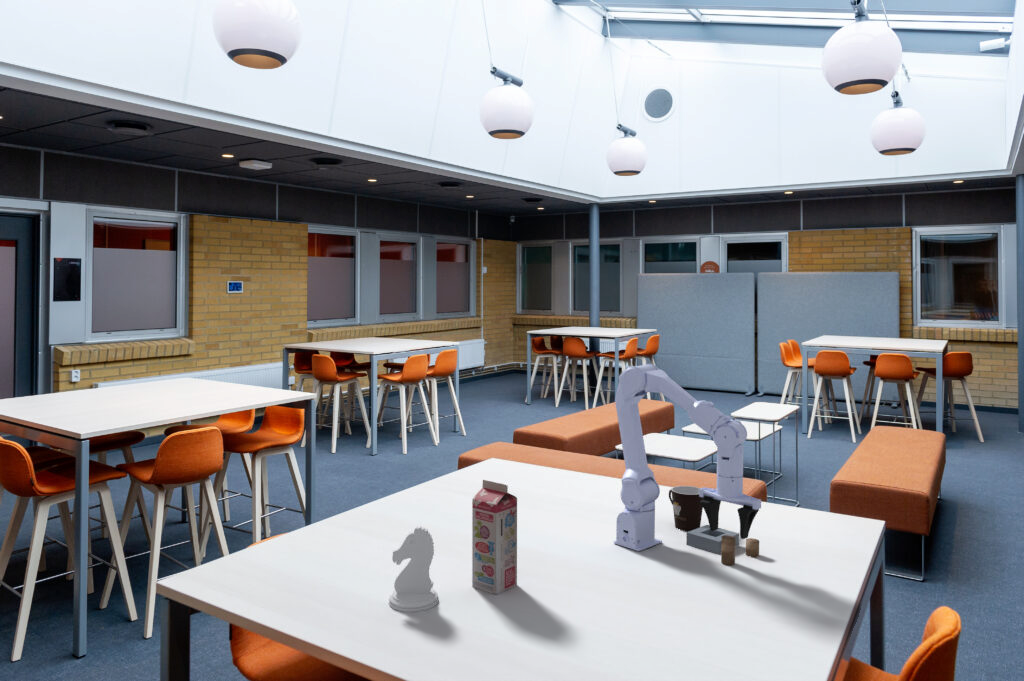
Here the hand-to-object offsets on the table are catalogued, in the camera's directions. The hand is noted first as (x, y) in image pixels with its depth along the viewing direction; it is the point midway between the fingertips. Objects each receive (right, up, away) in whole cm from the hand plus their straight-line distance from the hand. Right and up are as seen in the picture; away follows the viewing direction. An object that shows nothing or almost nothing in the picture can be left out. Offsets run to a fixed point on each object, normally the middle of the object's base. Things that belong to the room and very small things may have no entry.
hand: (728, 533), depth 162 cm
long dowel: (0, -7, 0) cm, 7 cm away
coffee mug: (-3, -6, +27) cm, 28 cm away
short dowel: (+7, -7, +6) cm, 11 cm away
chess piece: (-69, -8, -20) cm, 72 cm away
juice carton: (-53, -8, -13) cm, 55 cm away
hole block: (0, -6, +12) cm, 14 cm away
